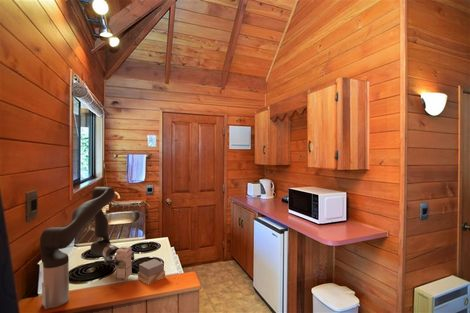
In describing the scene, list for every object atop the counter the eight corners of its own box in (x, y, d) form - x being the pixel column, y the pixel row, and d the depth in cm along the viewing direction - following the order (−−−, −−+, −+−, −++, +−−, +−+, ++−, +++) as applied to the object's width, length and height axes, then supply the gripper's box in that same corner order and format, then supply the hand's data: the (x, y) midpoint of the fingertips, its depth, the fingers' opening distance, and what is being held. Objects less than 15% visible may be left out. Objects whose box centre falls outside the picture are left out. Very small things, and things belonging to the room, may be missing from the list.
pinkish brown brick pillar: (132, 274, 132) (132, 246, 132) (126, 279, 126) (126, 251, 126) (121, 273, 133) (122, 246, 133) (115, 278, 127) (115, 250, 127)
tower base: (148, 286, 124) (147, 278, 124) (137, 279, 130) (137, 272, 130) (165, 278, 131) (165, 270, 131) (154, 272, 138) (154, 265, 138)
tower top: (148, 277, 125) (148, 269, 125) (139, 272, 130) (139, 264, 130) (163, 270, 132) (163, 263, 132) (154, 266, 137) (154, 258, 137)
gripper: (98, 250, 133) (111, 258, 123) (124, 243, 144) (138, 250, 133) (98, 263, 133) (111, 273, 123) (124, 255, 144) (138, 263, 133)
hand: (125, 261), depth 128 cm, fingers closed on pinkish brown brick pillar, 7 cm apart
